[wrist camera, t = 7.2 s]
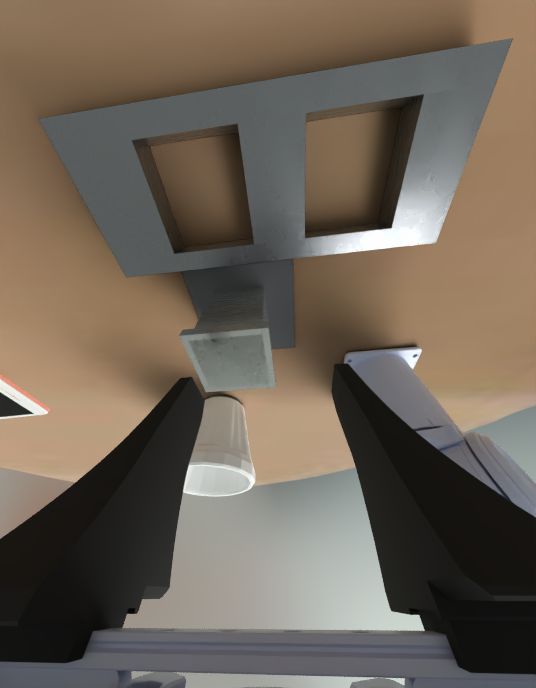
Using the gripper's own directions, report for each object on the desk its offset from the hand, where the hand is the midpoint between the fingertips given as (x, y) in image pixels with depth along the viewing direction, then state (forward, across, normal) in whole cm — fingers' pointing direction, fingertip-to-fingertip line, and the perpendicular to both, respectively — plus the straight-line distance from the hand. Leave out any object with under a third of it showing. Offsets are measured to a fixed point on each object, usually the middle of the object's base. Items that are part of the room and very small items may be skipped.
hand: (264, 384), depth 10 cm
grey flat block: (+10, -1, -8) cm, 13 cm away
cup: (+10, +8, +16) cm, 21 cm away
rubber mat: (+10, +2, +1) cm, 10 cm away
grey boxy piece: (+10, +2, +1) cm, 10 cm away
